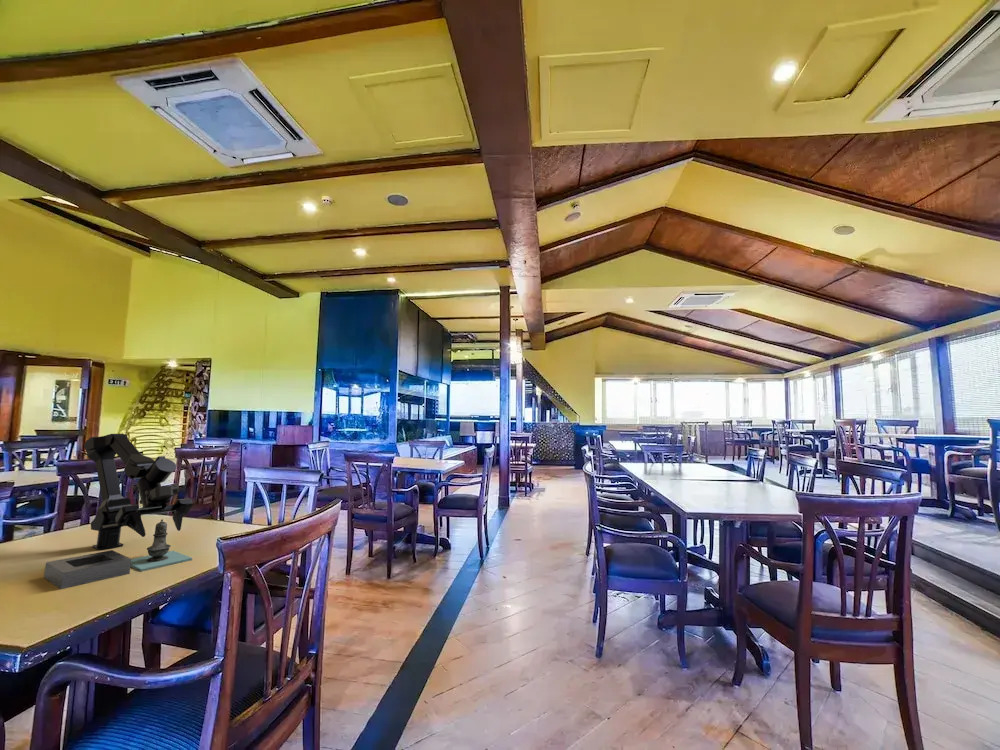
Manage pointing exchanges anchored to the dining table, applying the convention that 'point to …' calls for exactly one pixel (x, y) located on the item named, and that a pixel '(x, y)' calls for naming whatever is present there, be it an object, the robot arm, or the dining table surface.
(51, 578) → the square socket
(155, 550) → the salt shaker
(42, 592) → the dining table surface
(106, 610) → the dining table surface
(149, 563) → the teal mat
